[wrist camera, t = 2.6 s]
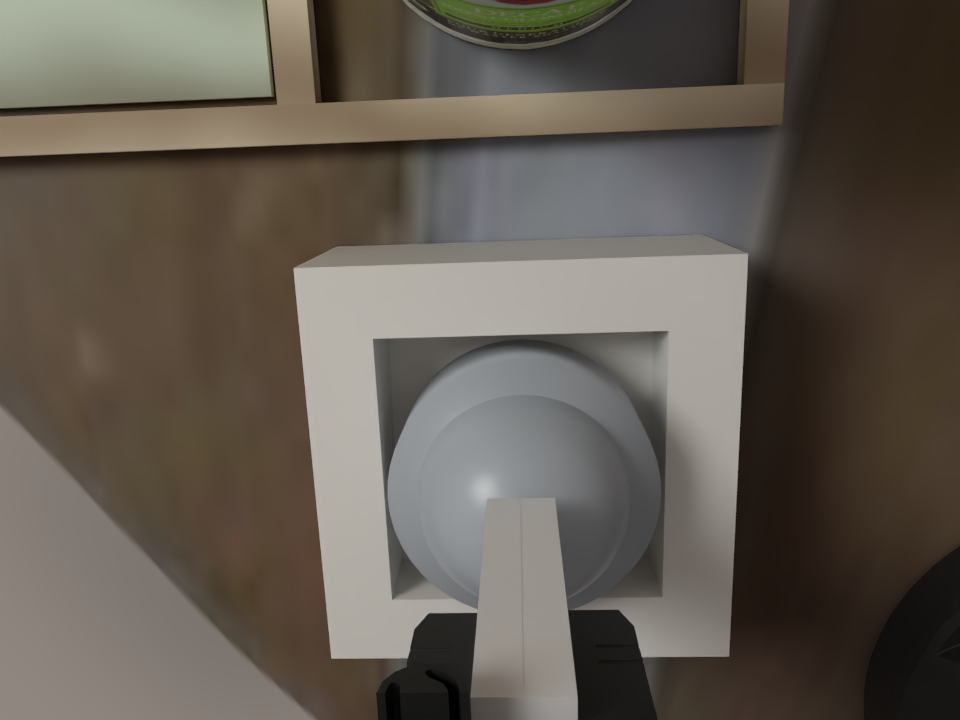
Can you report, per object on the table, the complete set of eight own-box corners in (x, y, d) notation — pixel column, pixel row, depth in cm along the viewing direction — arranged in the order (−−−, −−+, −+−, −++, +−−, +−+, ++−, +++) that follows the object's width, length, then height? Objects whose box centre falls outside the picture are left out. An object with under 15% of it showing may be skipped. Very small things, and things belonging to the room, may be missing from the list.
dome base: (691, 568, 28) (729, 656, 23) (363, 571, 29) (331, 658, 24) (702, 234, 25) (748, 253, 20) (336, 246, 26) (293, 268, 21)
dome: (642, 564, 24) (679, 683, 19) (409, 567, 24) (379, 683, 19) (646, 336, 22) (687, 393, 17) (394, 342, 23) (356, 400, 17)
